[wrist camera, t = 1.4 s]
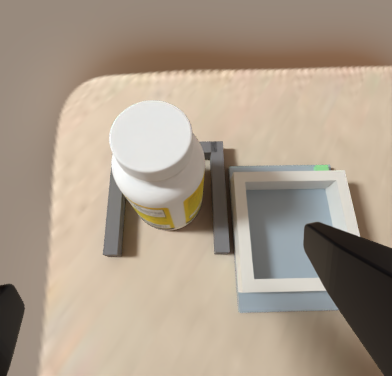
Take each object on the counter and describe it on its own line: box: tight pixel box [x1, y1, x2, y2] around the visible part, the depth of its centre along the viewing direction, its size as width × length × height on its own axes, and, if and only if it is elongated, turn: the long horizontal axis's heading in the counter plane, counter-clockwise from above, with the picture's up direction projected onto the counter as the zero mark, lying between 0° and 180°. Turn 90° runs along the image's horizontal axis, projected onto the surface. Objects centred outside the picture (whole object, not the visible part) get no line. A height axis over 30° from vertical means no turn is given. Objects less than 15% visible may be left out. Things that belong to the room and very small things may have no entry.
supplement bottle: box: [109, 100, 205, 230], centre depth 17 cm, size 5×5×10 cm
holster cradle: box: [103, 141, 230, 257], centre depth 21 cm, size 9×9×1 cm
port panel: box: [228, 165, 360, 313], centre depth 20 cm, size 11×8×2 cm
